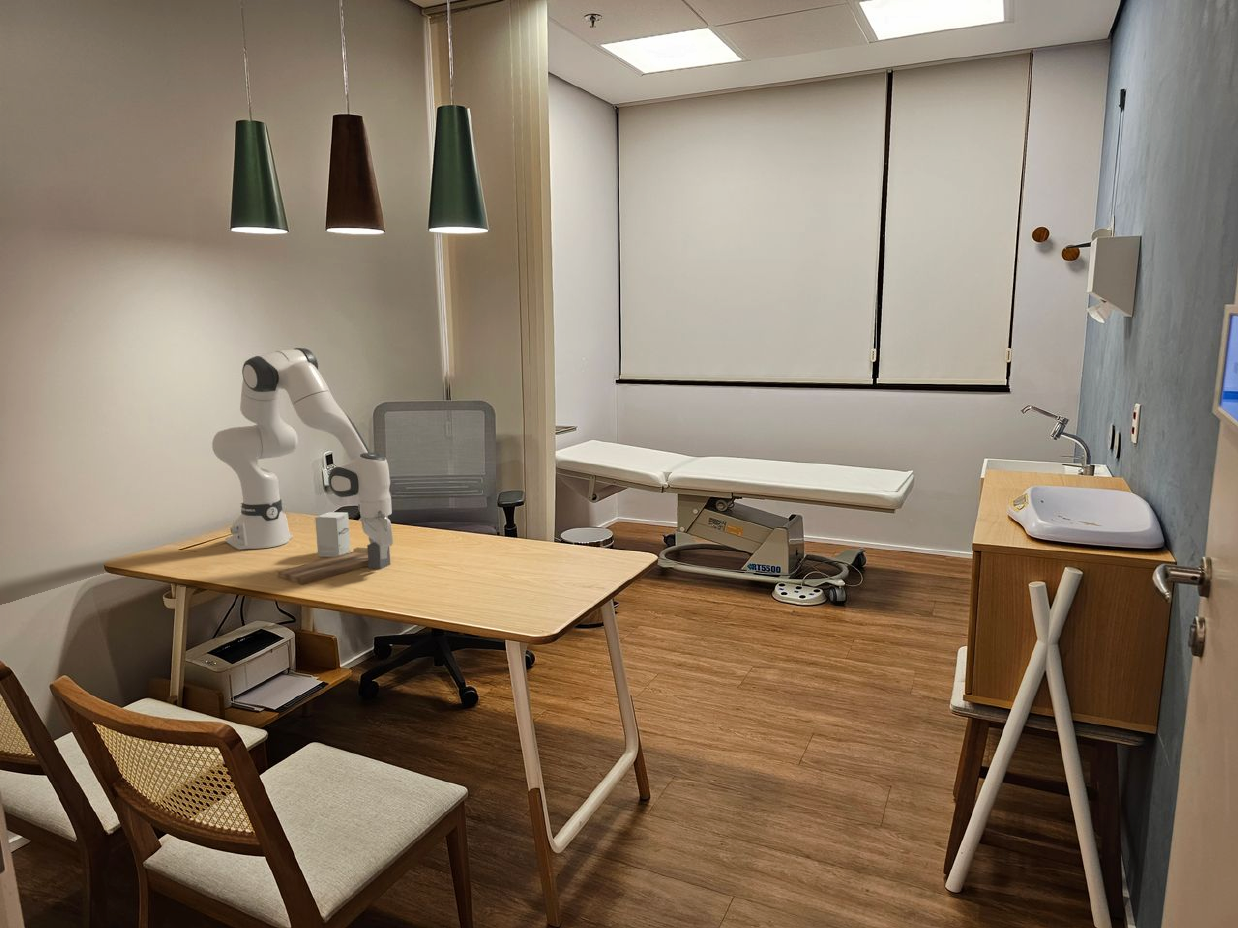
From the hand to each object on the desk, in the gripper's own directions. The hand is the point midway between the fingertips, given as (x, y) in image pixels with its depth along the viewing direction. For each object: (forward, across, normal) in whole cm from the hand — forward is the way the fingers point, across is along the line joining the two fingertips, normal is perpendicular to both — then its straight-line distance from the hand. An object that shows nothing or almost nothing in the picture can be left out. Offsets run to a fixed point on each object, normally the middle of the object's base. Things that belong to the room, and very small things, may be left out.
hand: (378, 554), depth 238 cm
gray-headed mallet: (+4, +2, +2) cm, 5 cm away
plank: (+4, +5, +12) cm, 13 cm away
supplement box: (+4, +21, +8) cm, 23 cm away
